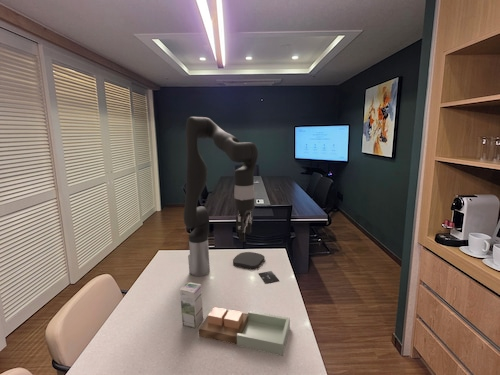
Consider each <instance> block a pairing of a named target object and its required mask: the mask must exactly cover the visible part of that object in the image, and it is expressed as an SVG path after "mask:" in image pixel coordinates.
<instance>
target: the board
mask: <svg viewBox="0 0 500 375" xmlns="http://www.w3.org/2000/svg"><path fill="white" fill-rule="evenodd" d="M228 311H229V309H227V313H228ZM203 320H204V321H203V322H201V323H200V324H201V325H200V326H198V337H199V338H205V339H209V340H213V341H217V342H218V341H220V342H223V343H227V344H228V343H229V344H232V345H236V346H237V333H240V334H242V333H243V331H244V329H245V327H246V325H247V323H248V313H243V320H242V322H241V324H240V326H239V328H238V329H235V328H230V327H225V326H224V323H223V324H222V326H220V325H215V324H210V323H208V315H207V316H206V317H205V319H203Z"/></svg>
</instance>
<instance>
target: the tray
mask: <svg viewBox="0 0 500 375" xmlns="http://www.w3.org/2000/svg"><path fill="white" fill-rule="evenodd" d="M247 314H248V323H247V325H246V327H245V329H244V331H243V333H242V334H240V333H237V345H236V346H237V347H239V348H240V347H241V348H245V349H251V350H255V351H259V352H264V353H267V354H272V355H278V356H282V357H283V356H284V353H285V352H284V351H285V349H286V344H287V340H288V337H289V333H290V328H291V327H290V326H291V324H290V323H291V322H290V321H291V319H290V317H286V316H280V315H275V314H270V313H263V312H257V311H253V310H252V311H251V310H248V311H247Z"/></svg>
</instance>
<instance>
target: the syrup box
mask: <svg viewBox="0 0 500 375" xmlns="http://www.w3.org/2000/svg"><path fill="white" fill-rule="evenodd" d="M202 291H203V290H202V284H200V283H196V282H190V281H187V282H186V283H185V284H183V286H182V287H180V289H179V296H180V308H181V318H182V319H181V320H182V326H184V327H189V328H194V329H197V328H199V325H200V324H202V321H203V320H204V312H203V311H204V309H203V298H202V297H203V296H202V294H203V293H202Z"/></svg>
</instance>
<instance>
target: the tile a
mask: <svg viewBox="0 0 500 375" xmlns="http://www.w3.org/2000/svg"><path fill="white" fill-rule="evenodd" d="M227 310H228V309H227V308H222V307H217V306H214V307H213V308H211V310H210V312H209V313H208V315H207V316H208V323H210V324H215V325H220V326H222V324H223V323H224V318H225V316H226V314H227Z"/></svg>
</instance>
